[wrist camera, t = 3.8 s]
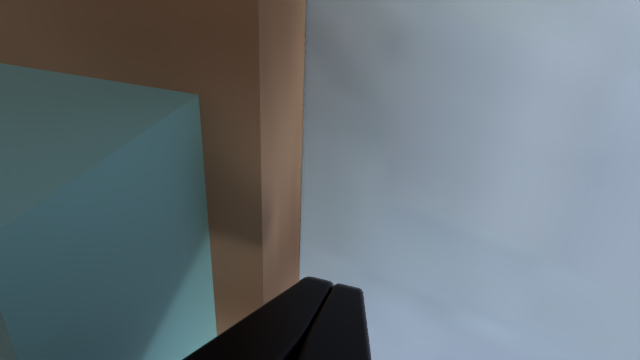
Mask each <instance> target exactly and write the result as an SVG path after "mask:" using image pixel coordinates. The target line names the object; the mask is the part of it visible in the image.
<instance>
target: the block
mask: <svg viewBox="0 0 640 360" xmlns="http://www.w3.org/2000/svg"><path fill="white" fill-rule="evenodd" d="M216 336H217V331H216V317H215V304H214V291H213V278H212V265H211V252H210V239H209V226H208V213H207V199H206V186H205V173H204V160H203V147H202V134H201V121H200V108H199V95H198V94H192V93H185V92H179V91H173V90H166V89H160V88H154V87H147V86H141V85H135V84H129V83H122V82H116V81H110V80H103V79H97V78H91V77H85V76H78V75H72V74H66V73H59V72H53V71H47V70H41V69H34V68H28V67H22V66H15V65H9V64H3V63H0V360H182V359H184V358H185V357H187V356H188V355H190V354H191V353H193V352H194V351H196V350H197V349H199V348H200V347H202V346H203V345H205V344H206V343H208V342H209V341H211V340H212V339H214V338H215V337H216Z"/></svg>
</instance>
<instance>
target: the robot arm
mask: <svg viewBox="0 0 640 360" xmlns="http://www.w3.org/2000/svg"><path fill="white" fill-rule="evenodd" d="M182 360H371V353H370V345H369V337H368V329H367V321H366V313H365V305H364V297H363V292H362V290H361V289H360V288H356V287H352V286H348V285H344V284H339V283H338V284H336V285H333V283H332V282H331V281H327V280H323V279H319V278H315V277H305V278H303V279H302V280H300V281H299V282H297V283H296V284H294V285H293V286H291V287H290V288H288V289H287V290H285V291H284V292H282V293H281V294H279V295H278V296H276V297H275V298H273V299H272V300H270V301H269V302H267V303H266V304H264V305H263V306H261V307H260V308H258V309H257V310H255V311H254V312H252V313H251V314H249V315H248V316H246V317H245V318H243V319H242V320H240V321H239V322H237V323H236V324H234V325H233V326H231V327H230V328H228V329H227V330H226V331H224V332H223V333H221V334H220V335H218V336H217V337H215V338H214V339H212V340H211V341H209V342H208V343H206V344H205V345H203V346H202V347H200V348H199V349H197V350H196V351H194V352H193V353H191V354H190V355H188V356H187V357H185V358H184V359H182Z"/></svg>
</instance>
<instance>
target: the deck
mask: <svg viewBox="0 0 640 360" xmlns="http://www.w3.org/2000/svg"><path fill="white" fill-rule="evenodd" d="M305 28H306V0H0V63H3V64H9V65H15V66H22V67H28V68H34V69H41V70H47V71H53V72H59V73H66V74H72V75H78V76H85V77H91V78H97V79H103V80H110V81H116V82H122V83H129V84H135V85H141V86H147V87H154V88H160V89H166V90H173V91H179V92H185V93H192V94H198V95H199V108H200V121H201V134H202V147H203V160H204V173H205V186H206V199H207V213H208V226H209V239H210V252H211V265H212V278H213V291H214V304H215V317H216V331H217V336H218V335H220V334H221V333H223V332H224V331H226V330H227V329H228V328H230V327H231V326H233V325H234V324H236V323H237V322H239V321H240V320H242V319H243V318H245V317H246V316H248V315H249V314H251V313H252V312H254V311H255V310H257V309H258V308H260V307H261V306H263V305H264V304H266V303H267V302H269V301H270V300H272V299H273V298H275V297H276V296H278V295H279V294H281V293H282V292H284V291H285V290H287V289H288V288H290V287H291V286H293V285H294V284H296V283H297V282H299V262H300V223H301V184H302V145H303V106H304V67H305ZM217 336H216V337H217Z"/></svg>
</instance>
